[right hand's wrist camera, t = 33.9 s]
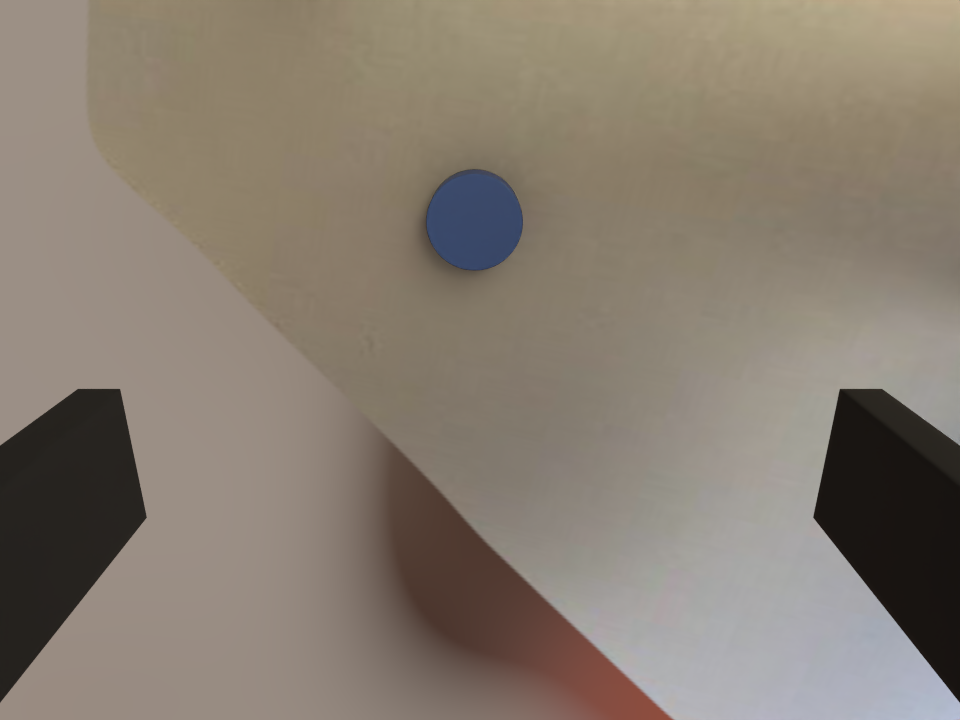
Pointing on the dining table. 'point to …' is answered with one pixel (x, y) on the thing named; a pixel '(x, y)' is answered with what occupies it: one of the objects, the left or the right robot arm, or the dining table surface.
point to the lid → (474, 220)
